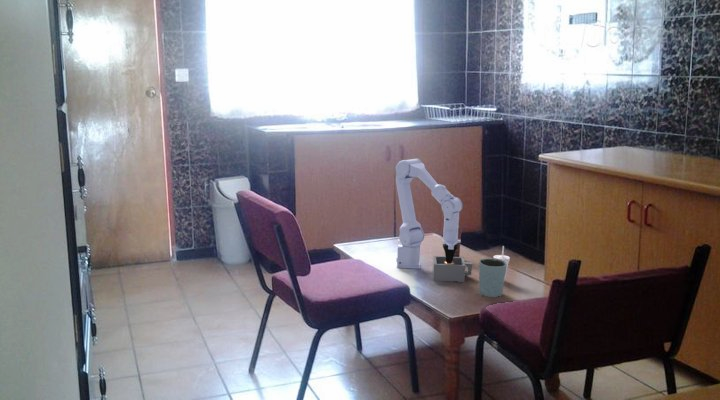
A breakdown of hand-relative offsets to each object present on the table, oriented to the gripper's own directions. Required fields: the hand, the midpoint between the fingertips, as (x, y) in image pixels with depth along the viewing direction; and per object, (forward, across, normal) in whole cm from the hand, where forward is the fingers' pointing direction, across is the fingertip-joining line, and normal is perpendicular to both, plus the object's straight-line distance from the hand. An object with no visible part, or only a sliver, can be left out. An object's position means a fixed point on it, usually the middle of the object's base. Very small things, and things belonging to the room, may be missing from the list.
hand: (449, 262), depth 287 cm
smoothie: (+6, -2, -20) cm, 21 cm away
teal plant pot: (+6, -18, -15) cm, 24 cm away
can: (+6, +28, -3) cm, 29 cm away
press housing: (+6, 0, -1) cm, 6 cm away
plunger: (+5, 0, 0) cm, 5 cm away
